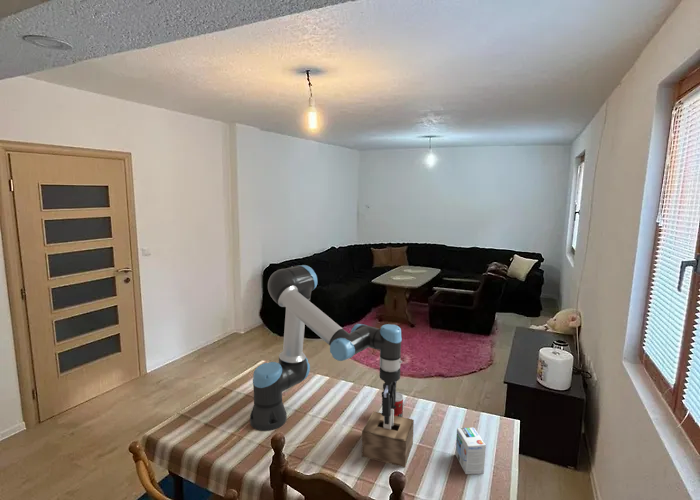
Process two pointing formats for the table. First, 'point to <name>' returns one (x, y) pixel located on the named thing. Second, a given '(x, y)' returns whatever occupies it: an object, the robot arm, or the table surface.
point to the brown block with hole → (387, 440)
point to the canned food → (398, 405)
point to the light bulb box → (470, 450)
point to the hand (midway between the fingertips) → (388, 427)
